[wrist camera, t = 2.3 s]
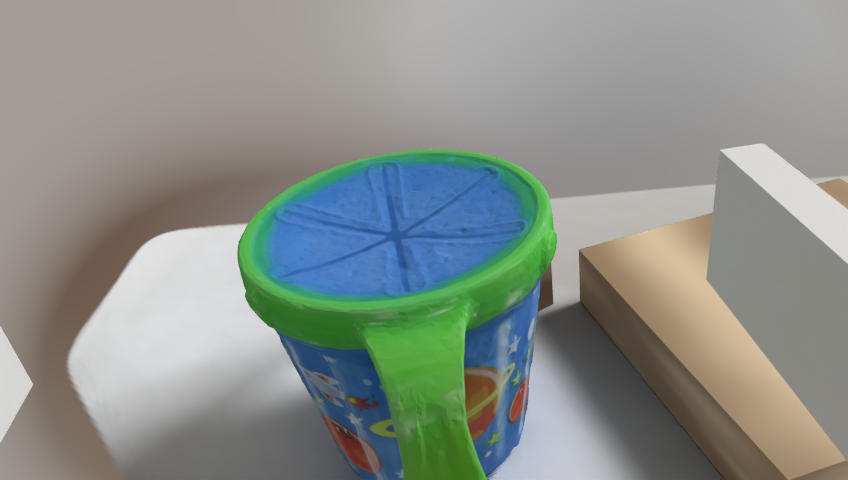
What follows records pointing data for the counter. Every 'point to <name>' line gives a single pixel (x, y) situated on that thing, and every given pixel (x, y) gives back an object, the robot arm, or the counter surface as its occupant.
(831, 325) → the robot arm
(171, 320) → the counter surface
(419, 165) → the snack cup
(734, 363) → the oak base slab
